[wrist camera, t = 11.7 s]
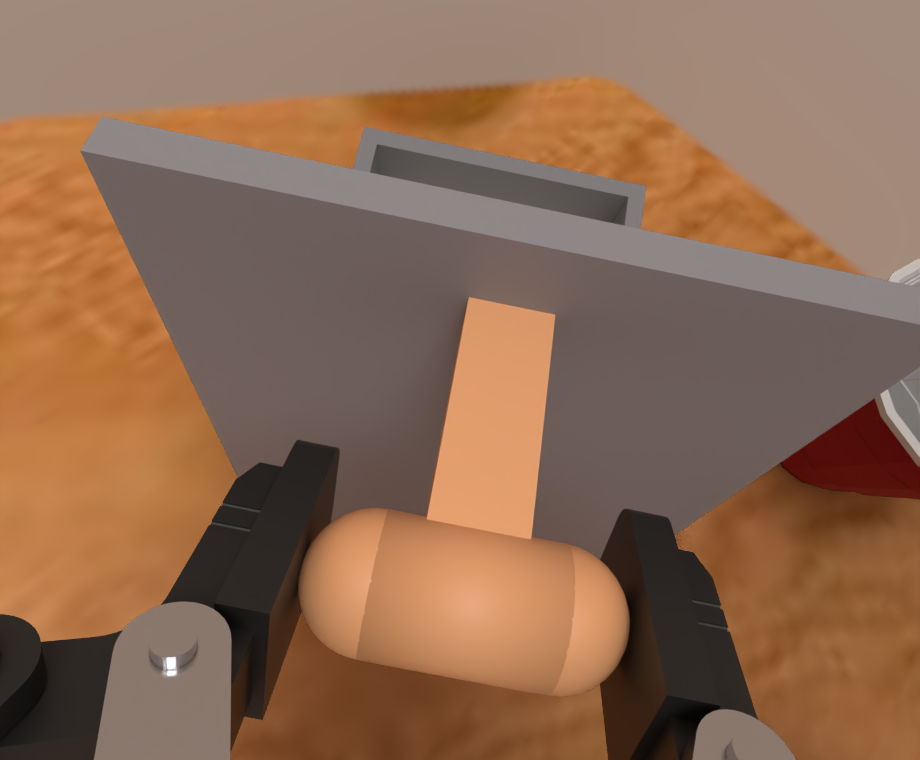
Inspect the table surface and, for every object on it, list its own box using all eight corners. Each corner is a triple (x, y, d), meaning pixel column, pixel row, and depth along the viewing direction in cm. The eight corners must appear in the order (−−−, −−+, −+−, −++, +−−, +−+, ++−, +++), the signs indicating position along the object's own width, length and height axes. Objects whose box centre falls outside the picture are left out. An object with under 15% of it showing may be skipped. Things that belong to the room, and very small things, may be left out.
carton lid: (102, 116, 11) (-168, 538, 7) (956, 295, 11) (1083, 774, 8) (259, 489, 26) (197, 679, 23) (612, 558, 27) (603, 755, 23)
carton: (370, 192, 38) (364, 126, 32) (609, 242, 38) (646, 186, 32) (291, 507, 33) (267, 496, 27) (566, 561, 33) (600, 561, 28)
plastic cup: (936, 392, 37) (1173, 317, 26) (883, 570, 35) (1123, 575, 23) (761, 305, 38) (917, 194, 26) (694, 473, 35) (835, 431, 24)
